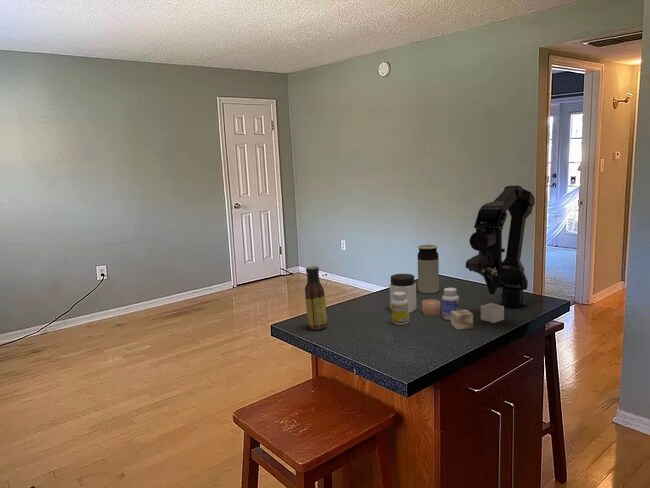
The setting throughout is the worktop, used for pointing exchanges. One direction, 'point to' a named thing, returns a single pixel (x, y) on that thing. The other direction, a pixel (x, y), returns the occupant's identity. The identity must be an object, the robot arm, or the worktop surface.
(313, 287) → the sauce bottle
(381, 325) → the worktop surface
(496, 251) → the robot arm
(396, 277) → the jar
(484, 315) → the grey block
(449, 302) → the pill bottle
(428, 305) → the tan rounded cylinder
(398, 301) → the supplement bottle
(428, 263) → the travel mug
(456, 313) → the birch block
